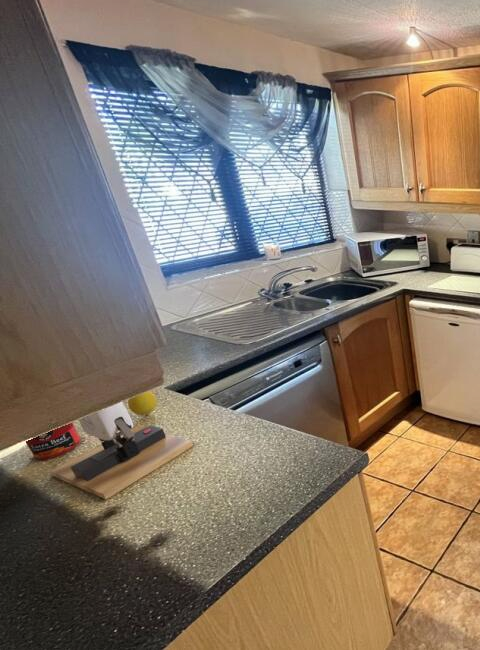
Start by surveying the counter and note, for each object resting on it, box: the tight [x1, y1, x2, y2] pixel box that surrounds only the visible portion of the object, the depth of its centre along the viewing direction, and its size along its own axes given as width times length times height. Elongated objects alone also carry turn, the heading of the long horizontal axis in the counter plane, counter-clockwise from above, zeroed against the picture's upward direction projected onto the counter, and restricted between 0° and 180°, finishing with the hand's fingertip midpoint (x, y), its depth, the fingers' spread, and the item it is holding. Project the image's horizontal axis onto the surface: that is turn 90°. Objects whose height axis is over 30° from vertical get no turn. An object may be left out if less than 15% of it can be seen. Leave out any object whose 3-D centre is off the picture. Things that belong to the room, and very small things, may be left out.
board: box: [49, 424, 194, 500], centre depth 90 cm, size 20×17×2 cm
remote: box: [71, 424, 166, 481], centre depth 89 cm, size 15×5×3 cm, turn 160°
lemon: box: [127, 390, 158, 416], centre depth 105 cm, size 6×6×8 cm
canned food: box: [25, 422, 81, 460], centre depth 92 cm, size 8×8×11 cm
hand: (123, 454), depth 89 cm, fingers closed on remote, 4 cm apart
